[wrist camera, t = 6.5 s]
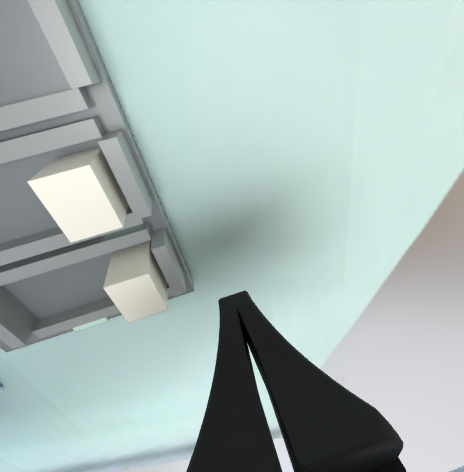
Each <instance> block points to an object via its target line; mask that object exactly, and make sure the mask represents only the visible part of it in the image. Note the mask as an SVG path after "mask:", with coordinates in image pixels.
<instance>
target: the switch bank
mask: <svg viewBox="0 0 464 472" xmlns="http://www.w3.org/2000/svg"><path fill="white" fill-rule="evenodd" d="M97 147H100V148H101V150H102V152H103V154H104V156H105V158H106V160H107V162H108V164H109V166H110V168H111V170H112V172H113V174H114V176H115V178H116V180H117V182H118V184H119V186H120V188H121V190H122V192H123V194H124V196H125V198H126V200H127V202H128V208H127V213H126V217H125V222H124V226H123V227H122V228H119V229H115V230H112V231H109V232H105V233H102V234H99V235H95V236H92V237H89V238H85V239H82V240H78V241H75V242H72V243H71V242H70V241H69V240H68V238H67V237H66V235H65V234H64V233H63V231H62V230H61V228H60V227H59V226H58V224H57V223H56V221H55V220H54V219H53V217H52V216H51V214H50V213H49V212H48V210H47V209H46V207H45V206H44V205H43V203H42V202H41V200H40V199H39V198H38V196H37V195H36V194H35V192H34V191H33V189H32V188H31V187H30V185H29V184H28V182H27V181H29V180H30V179H31V178H32V177H33V176H35V175H36V174H37V173H38V172H39V171H41V170H42V169H43V168H44V167H46V166H47V165H48V164H49V163H50V162H52V161H53V160H54V159H56V158H59V157H63V156H67V155H71V154H74V153H78V152H82V151H85V150H89V149H93V148H97ZM148 241H150V242H151V251H152V253H153V255H154V257H155V259H156V261H157V263H158V265H159V267H160V269H161V271H162V273H163V275H164V277H165V279H166V281H167V300H168V299H171V298H174V297H177V296H181V295H184V294H187V293H190V292H193V291H194V286H193V280H192V278H191V275H190V273H189V270H188V268H187V266H186V263H185V261H184V258H183V256H182V253H181V251H180V249H179V246H178V244H177V241H176V239H175V236H174V234H173V232H172V229H171V227H170V224H169V222H168V219H167V217H166V215H165V212H164V210H163V207H162V205H161V202H160V200H159V197H158V195H157V193H156V190H155V188H154V185H153V183H152V180H151V178H150V176H149V173H148V171H147V168H146V166H145V163H144V161H143V159H142V156H141V154H140V151H139V149H138V146H137V144H136V142H135V139H134V137H133V134H132V132H131V129H130V127H129V125H128V122H127V120H126V117H125V115H124V112H123V110H122V108H121V105H120V103H119V100H118V98H117V95H116V93H115V91H114V88H113V86H112V83H111V81H110V78H109V76H108V73H107V71H106V69H105V66H104V64H103V61H102V59H101V56H100V54H99V52H98V49H97V47H96V44H95V42H94V39H93V37H92V35H91V32H90V30H89V27H88V25H87V22H86V20H85V18H84V15H83V13H82V10H81V8H80V5H79V3H78V1H77V0H0V348H1V349H3V350H4V351H5V352H9V351H12V350H15V349H18V348H21V347H24V346H27V345H30V344H34V343H37V342H40V341H43V340H46V339H49V338H52V337H55V336H58V335H61V334H64V333H67V332H70V331H73V330H74V331H75V332H77V331H80V330H83V329H86V328H89V327H92V326H95V325H98V324H101V323H104V322H107V321H108V320H109V319H110V318H113V317H116V316H119V315H122V314H121V312H120V311H119V309H118V308H117V307H116V305H115V304H114V302H113V301H112V300H111V298H110V297H109V295H108V294H107V293H106V291H105V290H104V288H103V287H104V283H105V279H106V275H107V271H108V267H109V263H110V259H111V256H112V252H115V251H118V250H122V249H125V248H128V247H132V246H135V245H138V244H141V243H145V242H148Z"/></svg>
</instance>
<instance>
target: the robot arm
mask: <svg viewBox="0 0 464 472" xmlns="http://www.w3.org/2000/svg"><path fill="white" fill-rule="evenodd" d="M219 309H220V329H219V343H218V351H217V359H216V366H215V372H214V377H213V382H212V387H211V391H210V396H209V400H208V404H207V408H206V412H205V416H204V419H203V422H202V426H201V429H200V433H199V436H198V439H197V443H196V446H195V449H194V452H193V454H192V457H191V460H190V463H189V466H188V469H187V472H282V469H281V466H280V462H279V459H278V456H277V453H276V450H275V446H274V443H273V440H272V436H271V433H270V430H269V427H268V423H267V420H266V417H265V414H264V410H263V407H262V404H261V401H260V397H259V393H258V389H257V385H256V380H255V376H254V372H253V367H252V363H251V358H250V354H249V349H248V346H249V348H250V350H251V353H252V355H253V357H254V360H255V362H256V365H257V367H258V369H259V372H260V374H261V376H262V379H263V381H264V384H265V386H266V389H267V391H268V394H269V397H270V400H271V403H272V406H273V409H274V412H275V415H276V418H277V421H278V424H279V427H280V430H281V433H282V436H283V439H284V442H285V445H286V448H287V451H288V454H289V457H290V460H291V463H292V466H293V469H294V472H406V469H405V467H404V466H403V464H402V463H401V461H400V459H399V458H398V456H399V454H400V452H401V451H402V449H403V441H402V440H401V439H400V437H399V435H398V434H397V432H396V431H395V430H394V429H393V427H392V426H391V425H390V424H389V422H388V421H387V420H386V419H385V418H384V417H383V416H382V415H381V414H380V412H379V411H378V410H376V409H375V408H374V407H372V406H371V405H369V404H368V403H366V402H365V401H363V400H362V399H360V398H359V397H357V396H356V395H354V394H353V393H351V392H350V391H348V390H347V389H346V388H344V387H343V386H341V385H340V384H339V383H337V382H336V381H334V380H333V379H331V378H330V377H329V376H328V375H327V374H325V373H324V372H323V371H321V370H320V369H319V368H318V367H316V366H315V365H314V364H313V363H311V362H310V361H309V360H308V359H307V358H305V357H304V356H303V355H302V354H301V353H300V352H299V351H297V350H296V349H295V348H294V347H293V346H292V345H291V344H290V343H289V342H288V341H287V340H286V339H285V338H284V337H283V336H282V335H281V334H280V333H279V332H278V331H277V330H276V329H275V328H274V327H273V326H272V324H271V323H270V322H269V321H268V320H267V319H266V318H265V316H264V315H263V314H262V313H261V311H260V310H259V309H258V308H257V306H256V305H255V303H254V302H253V301H252V299H251V297H250V296H249V294H248V292H247V291H242V292H239V293H236V294H233V295H230V296H227V297H224V298H221V299H220V300H219ZM247 343H248V345H247ZM1 391H2V388H1V387H0V393H1ZM450 472H464V466H462V467H459V468H457V469H455V470H452V471H450Z"/></svg>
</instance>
